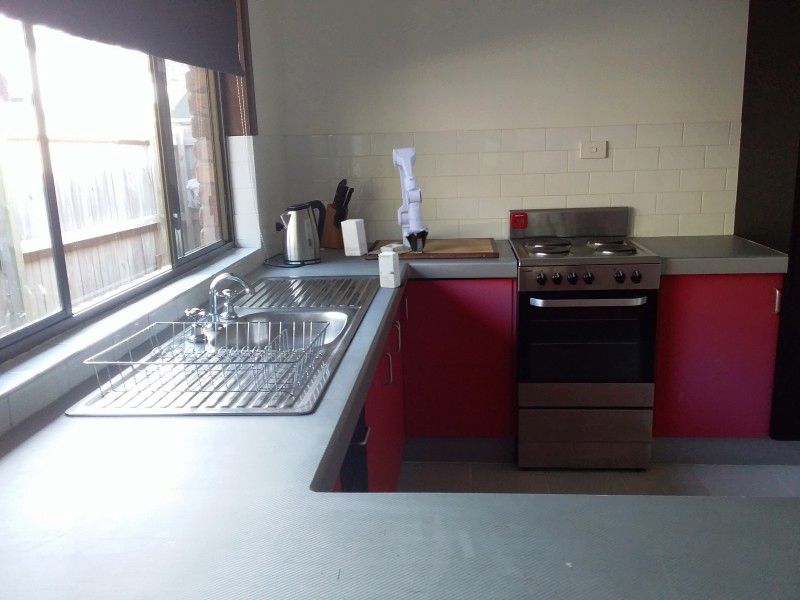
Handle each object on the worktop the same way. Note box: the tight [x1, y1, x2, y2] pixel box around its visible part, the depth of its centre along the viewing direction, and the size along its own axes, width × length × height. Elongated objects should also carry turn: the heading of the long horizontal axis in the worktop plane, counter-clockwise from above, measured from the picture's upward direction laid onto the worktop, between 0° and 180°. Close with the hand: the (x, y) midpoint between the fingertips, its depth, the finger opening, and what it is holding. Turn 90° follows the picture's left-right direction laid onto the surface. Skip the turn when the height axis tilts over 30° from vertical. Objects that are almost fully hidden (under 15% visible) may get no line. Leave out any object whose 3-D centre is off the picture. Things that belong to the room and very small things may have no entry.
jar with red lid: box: [413, 238, 424, 253], centre depth 300 cm, size 4×4×6 cm
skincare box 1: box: [340, 218, 369, 257], centre depth 308 cm, size 8×7×16 cm
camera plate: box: [366, 241, 411, 256], centre depth 307 cm, size 18×14×3 cm
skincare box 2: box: [378, 252, 401, 289], centre depth 244 cm, size 6×4×12 cm
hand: (418, 249), depth 300 cm, fingers open, 5 cm apart
